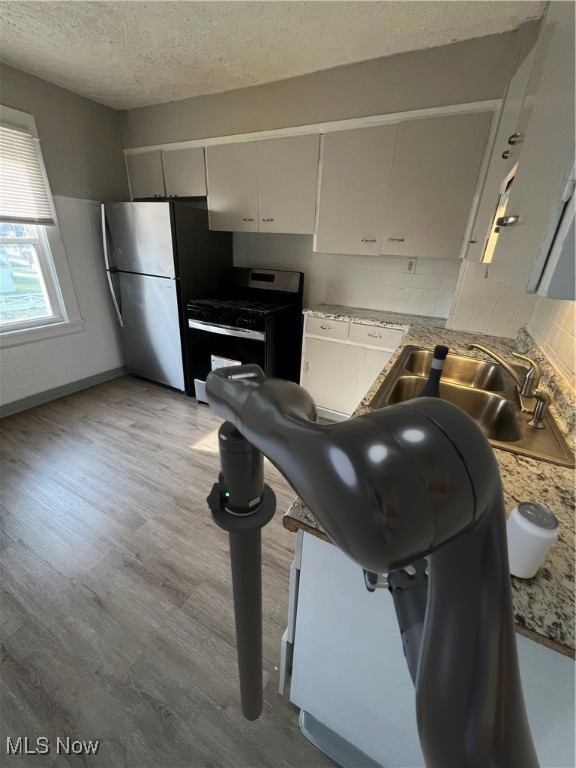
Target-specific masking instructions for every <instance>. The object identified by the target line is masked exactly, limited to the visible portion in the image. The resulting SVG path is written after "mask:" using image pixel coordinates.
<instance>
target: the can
mask: <svg viewBox="0 0 576 768" xmlns="http://www.w3.org/2000/svg"><path fill="white" fill-rule="evenodd" d="M506 527H507V541H508V556H509V567H510V575H512V576H514V577H516V578H520V579H531V578H533V577H535V576H536V574H537V573H538V571H539V569H540V567H541V565H542V564H543V562H544V560H545V559H546V557H547V555H548V554H549V551H550V550H551V548H552V546H553V545H554V543H555V541H556V539H557V537H558V535H559V527H560V520H559V518H558V517H557V516H556V515H555V513H553V512H552V511H551V510H549V509H548V508H546V507H545V506H543V505H540V504H539V503H537V502H536V503H535V502H532V501H521V502H519V503H518V504H517V506H514V508H512V510H511V512H510V514H509V516H508V518H507V519H506Z"/></svg>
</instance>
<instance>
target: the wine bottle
mask: <svg viewBox="0 0 576 768" xmlns="http://www.w3.org/2000/svg"><path fill="white" fill-rule="evenodd" d="M449 352H450V348H449V347H448V346H447V345H443V344H437V345H435V346H434V350H433V357H432V361H431V365H430V370H429V373H428V377H427V381H426V383H425V385H424V387H423V388H422V389H421V391H420V392H419V394H418V395H417V396H416V397H415V398H418V397H435V398H439V399H442V398H441V392H440V382H441V377H442V374H443V370H444V367H445V363H446V359H447V356H448V354H449Z"/></svg>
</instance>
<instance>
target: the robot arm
mask: <svg viewBox="0 0 576 768" xmlns="http://www.w3.org/2000/svg"><path fill="white" fill-rule="evenodd" d="M204 384H205V385H204V392H205V398H206V401H207V404H208V406H209V407H210V409H211V410H212V412H213V413H214V415H216V416H217V417H218V418H220V419H222V420H223V421H224V422H222V423H221V425H220V426H219V428H218V430H217V441H218V442H217V443H218V454H219V465H220V470H219V472H218V475H217V482H214V483H213V485H212V488H211V490H210V493H209V494H208V495H207V497H206V503H207V505H208V510H211V509H215V510H220V508H221V510H224V511H226V512H227V513H228V514H230V515H231V516H234V517H239V518H244V517H249V516H252V515H254V514H256V513H258V512H259V511H260V510H261V509H262V507H263V505H264V483H265V458H266V460H268V462H269V463H271V464H272V466H273V467H274V468H275V469H276V470H277V471H278V472H279V474H280V475H281V476H282V477H283V478H284V480H285V481H286V482H287V483H288V486H290V488H291V490H293V492H294V493H295V494H296V496H297V497H298V499H299V500H300V501H301V503H302V504H303V505H304V506H305V508H306V509H307V511H308V512H309V513H310V515H311V516H312V518H313V519H314V520H315V521H316V523H317V524H318V526H319V527H320V528H321V529H322V531H323V532H324V533H325V534H326V535H327V537H328V539H330V541H332V543H333V544H334V545H335V547H336V548H337V549H338V550H339V551H341V552H342V554H344V555H345V556H346V557H347V558H348V559H349V560H350V561H351V562H353V563H354V564H356V565H357V566H358V567H360V568H361V570H362V574H363V575H362V576H363V579H364V585H365V588H366V590H367V592H369V593H374V592H375V591H376V589H387V591H388V592H389V594H390V595H391V597H392V600H393V601H392V602H393V606H394V611H395V615H396V619H397V624H398V629H399V633H400V638H401V642H402V651H403V656H404V658H405V660H406V665H407V669H408V672H409V676H410V679H411V682H412V685H413V688H414V709H415V721H416V729H417V730H416V731H417V735H418V740H419V746H420V749H421V753H422V757H423V761H424V764H425V765H424V766H425V768H541V765H540V762H539V758H538V754H537V751H536V747H535V743H534V739H533V735H532V730H531V727H530V723H529V717H528V713H527V707H526V702H525V701H526V700H525V696H524V690H523V689H524V688H523V684H522V678H521V670H520V661H519V651H518V641H517V634H516V632H517V631H516V622H515V621H516V620H515V609H514V608H515V607H514V600H513V599H514V598H513V590H512V578H511V574H510V567H509V556H508V541H507V527H506V522H507V515H506V505H505V495H504V488H503V482H502V481H503V480H502V476H501V471H500V468H499V463H498V460H497V457H496V454H495V452H494V449H493V446H492V444H491V442H490V441H489V439H488V437H487V435H486V433H485V432H484V431H483V428H481V426H480V425H479V424H478V423H477V422H476V420H475V419H474V418H473V417H472V416H471V415H469V413H467V412H466V411H465V410H463V409H462V408H461V407H459V406H458V405H457V404H454V403H453V402H451V401H449V400H446V399H442V398H441V399H439V398H435V397H418V398H416V397H414V398H410V399H407V400H404V401H400V402H396V403H394V404H390V405H387V406H384V407H381V408H379V409H376V410H375V411H374V410H372V411H369V412H367V413H364V414H363V413H362V414H361V415H360V414H359V415H357V416H355V417H352V418H348V419H345V420H341V421H336V422H330V423H320V421H319V420H320V419H319V411H318V407H317V405H316V402H315V400H314V398H313V397H312V395H311V394H310V393H309V391H308V390H306V388H304V387H303V386H301V385H299V384H298V383H296V382H293V381H291V380H287V379H284V378H280V377H276V376H270V375H265V373H264V371H263V369H262V368H261V366H260V365H259V364H257V363H244V364H236V365H229V366H222V367H217V368H215V369H214V368H213V369H212V370H211V371H210V372H209V373H208V375H207V376H206V379H205V383H204ZM384 575H387V576H384Z"/></svg>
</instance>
